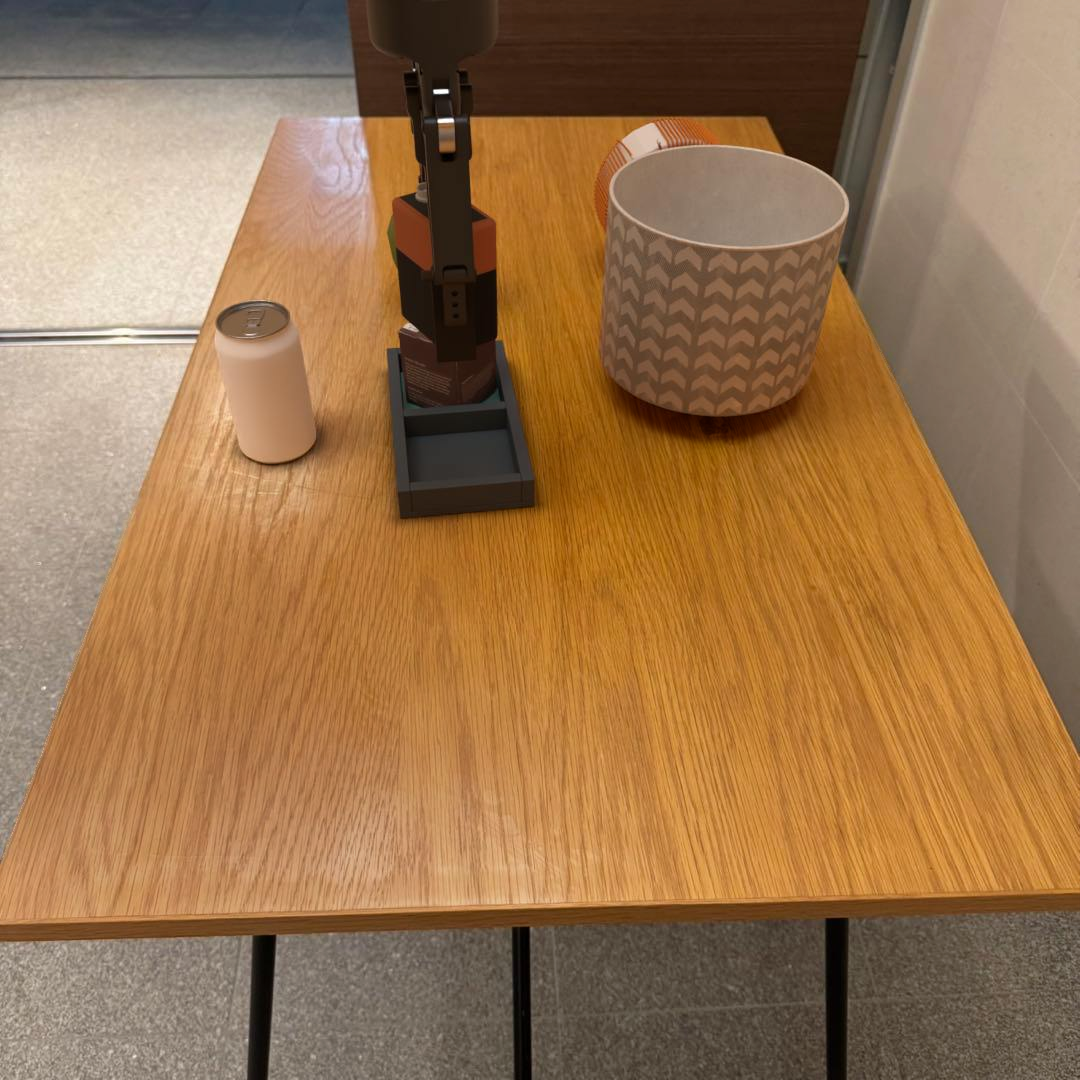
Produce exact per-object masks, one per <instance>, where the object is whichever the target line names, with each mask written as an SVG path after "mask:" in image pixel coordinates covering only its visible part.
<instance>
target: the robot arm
mask: <svg viewBox="0 0 1080 1080" xmlns="http://www.w3.org/2000/svg"><path fill="white" fill-rule="evenodd" d="M365 9H366V17H367V29H368V36H369V40H370V42H371V44H372V45H373V47H374V48H375V49H376V50H378V51H379V52H380V53H382V54H384V55H386V56H388V57H391V58H394V59H398V60H404V59H407V60H408V61H409V60H410V61H411V68H412V70H406V71H402V82H403V90H404V100H405V105H406V111H407V115H408V117H409V121H410V129H411V134H412V135H413V146H414V158H415V161H416V162H417V163H418V166H419V167H418V168H419V169H418V170H419V175H418V176H417V181H418V184H420V183H424V182H426V193H427V205H428V217H429V229H430V241H431V253H432V267H431V270H421V275H422V281H431V289H432V303H433V317H434V331H435V345H436V358H437V363H442V362H456V361H469V360H477V356H476V331H475V306H474V283H475V281H476V277H477V269H476V268H475V266H474V247H473V227H472V208H471V204H472V192H471V191H472V189H471V172H470V161H471V160H472V159H473V158H472V157H473V145H472V144H473V142H472V127H471V126H472V125H471V116H472V114H473V111H474V94H473V93H474V92H473V85H472V83H470V82H469V72H468V69H467V68H459V64H460V63H461V62H462V61H464V60H465V59H467V58H470V57H478V56H480V55H482V54H484V53H486V52H488V51H489V50H491V49H492V48H493V47H494V46H495V44H496V43H497V42H498V39H499V32H500V31H499V29H500V27H499V26H500V25H499V23H500V22H499V0H365Z"/></svg>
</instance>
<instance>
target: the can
mask: <svg viewBox="0 0 1080 1080" xmlns="http://www.w3.org/2000/svg"><path fill="white" fill-rule="evenodd" d="M214 324H215V328H216V330H215V334H214V340H213V343H214V347H215V353H216V357H217V362H218V366H219V371H220V374H221V378H222V382H223V386H224V390H225V395H226V398H227V402H228V406H229V411H230V415H231V419H232V423H233V427H234V432H235V435H236V438H237V442H238V446H239V449H240V451H241V452H242V453H243V454H244V455H245V456H246V457H247V458H250V459H251V460H253V461H255V462H257V463H261V464H265V465H276V464H277V465H279V464H285V463H289V462H292V461H296V460H297V459H299V458H302V457H303V456H304V455H305V454H307V453H308V452H309V451H310V449H311V448H312V447H313V446H314V445H315V442H316V440H317V428H316V423H315V417H314V416H315V415H314V410H313V405H312V399H311V393H310V387H309V382H308V376H307V370H306V365H305V359H304V354H303V348H302V343H301V337H300V332H299V329H298V326H297V325H296V323H295V322H294V321H293V320H292V318H291V313H290V311H289V309H288V308H287V307H286V306H285V305H284V304H281V303H279V302H277V301H273V300H268V299H250V300H244V301H240V302H237V303H234V304H231V305H230V306H228V307H226V308H224V309H222V310H221V312H219V313H218V314H217V316H216V318H215V323H214Z"/></svg>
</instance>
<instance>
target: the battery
mask: <svg viewBox="0 0 1080 1080" xmlns="http://www.w3.org/2000/svg"><path fill="white" fill-rule="evenodd" d="M471 208H472V227H473V247H474V266H475V268H476V269H477V277H476V281H475V283H474V306H475V331H476V347H477V346H479V345H482V344H485V343H488V342H491V341H493V340H495V339H497V338H498V335H499V334H498V333H499V332H498V331H499V329H498V328H499V325H498V324H499V323H498V321H499V320H498V259H497V258H498V257H497V256H498V255H497V221H496V220H495V219H494V218H493V217H492V216H490V215H489V214H487V213H486V212H484V211H482V209H480V208H478V207H477V206H475V204H472V203H471ZM391 209H392V214H393V222H394V233H395V245H396V256H397V267H398V269H397V277H398V287H399V289H398V290H399V299H400V310H401V311H400V312H401V316H402V317H403V318H404V319H405V320H406V321H407V322H408V323H409V322H410V323H411V324H412V325H413V326H414V327H416V328H417V329H418V330H419V331H420V332H421V333H422V334H424V335H425V336H426V337H427V338H428V339H429V340H430V341H432V342H433V343H434V344H435V331H434V317H433V303H432V289H431V281H422V275H421V270H431V267H432V253H431V241H430V229H429V217H428V205H427V193H426V182H424V183H418V184H417V185H416V191H415V192H414V191H413V192H410V193H406V194H404V195H400V196H396V197H394V198H393V199H392V201H391ZM397 267H396V268H397Z"/></svg>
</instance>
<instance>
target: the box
mask: <svg viewBox="0 0 1080 1080" xmlns="http://www.w3.org/2000/svg"><path fill="white" fill-rule="evenodd" d="M397 334H398V339H399V348H400V351H401V359H402V368H403V377H404V385H405V393H406V400H407V401H409V402H412V403H414V404H417V405H420V406H422V407H425V408H428V407H441V406H453V405H466V404H479V403H481V402H482V401H483V400H484V399H486V398H487V397H488V396H489V395H491V393H493V392H494V391H495V390H496V389H497V370H496V339H497V338H496V339H495V340H493V341H491V342H488V343H485V344H482V345H479V346H477V347H476V356H477V360H469V361H456V362H442V363H437V358H436V345H435V344H434V343H433V342H432V341H430V340H429V339H428V338H427V337H426V336H425V335H424V334H422V333H421V332H420V331H419V330H418V329H417V328H416V327H414V326H413V325H412V324H411V323H410V322H409V321H408V322H407V323H405V324H404V325H403V326H402V327H401V328H400V329H398V330H397Z"/></svg>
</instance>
